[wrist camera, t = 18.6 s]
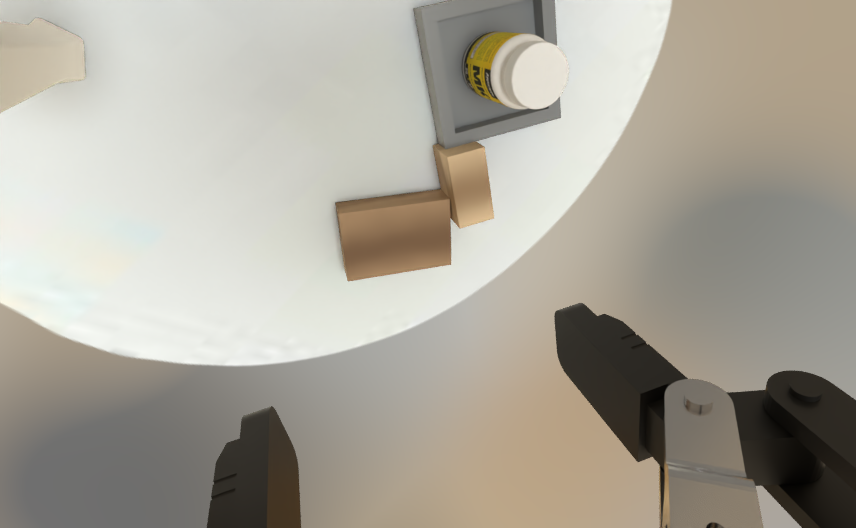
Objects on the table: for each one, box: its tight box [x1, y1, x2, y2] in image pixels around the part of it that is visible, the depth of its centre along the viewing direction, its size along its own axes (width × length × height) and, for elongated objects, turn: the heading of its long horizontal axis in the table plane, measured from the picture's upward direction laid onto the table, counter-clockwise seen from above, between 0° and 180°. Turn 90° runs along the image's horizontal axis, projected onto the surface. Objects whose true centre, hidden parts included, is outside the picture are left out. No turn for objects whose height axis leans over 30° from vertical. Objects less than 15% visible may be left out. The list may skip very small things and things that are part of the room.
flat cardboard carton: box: [336, 189, 451, 281], centre depth 41 cm, size 6×9×3 cm, turn 92°
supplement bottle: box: [463, 32, 569, 109], centre depth 34 cm, size 5×5×8 cm
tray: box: [414, 0, 561, 149], centre depth 37 cm, size 10×10×2 cm
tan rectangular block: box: [433, 142, 494, 228], centre depth 39 cm, size 6×3×4 cm, turn 11°
